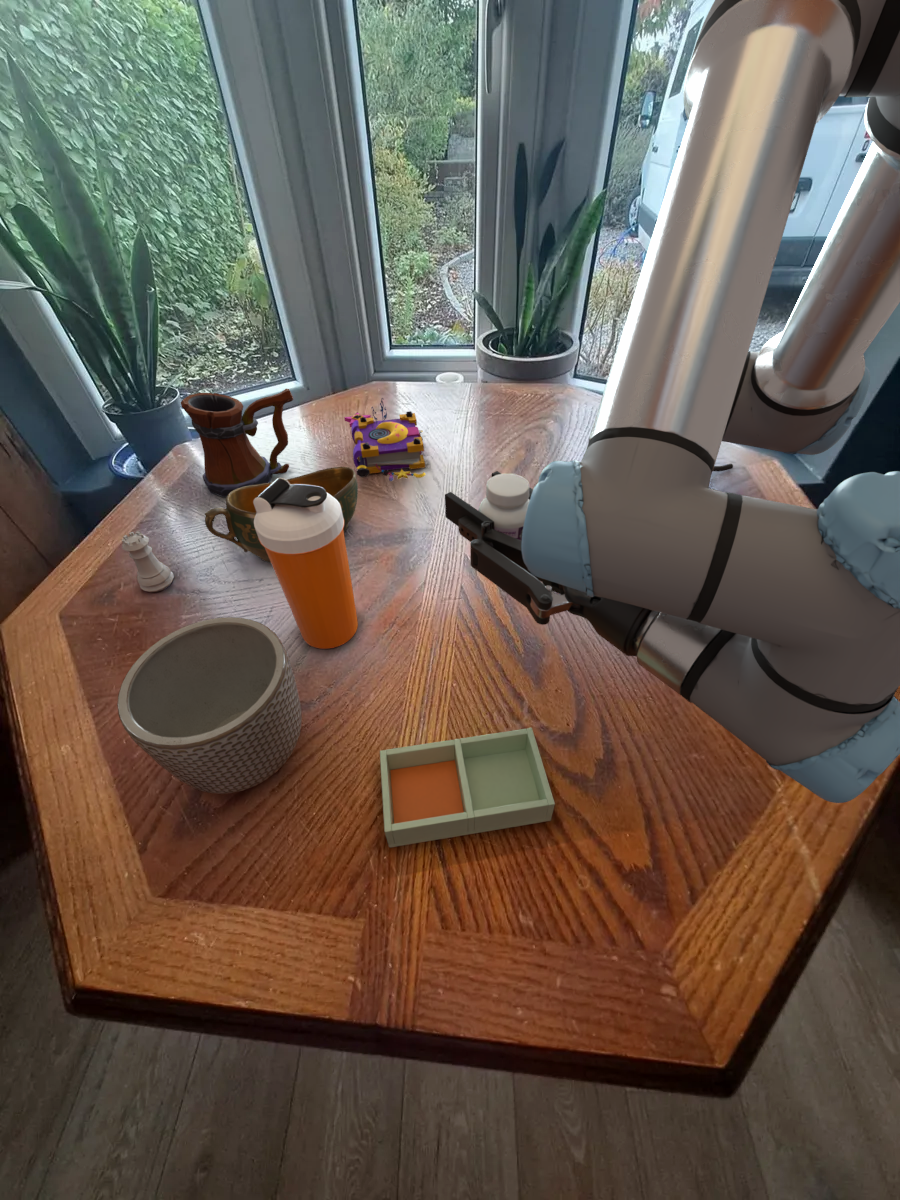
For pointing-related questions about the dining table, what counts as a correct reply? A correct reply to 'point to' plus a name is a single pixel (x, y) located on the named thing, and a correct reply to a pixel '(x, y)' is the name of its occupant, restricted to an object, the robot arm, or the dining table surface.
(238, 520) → the creamer
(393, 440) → the book
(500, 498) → the pill bottle
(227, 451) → the mug
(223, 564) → the dining table surface
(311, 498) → the shaker bottle
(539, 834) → the dining table surface
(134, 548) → the rook chess piece
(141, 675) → the planter
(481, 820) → the tray
